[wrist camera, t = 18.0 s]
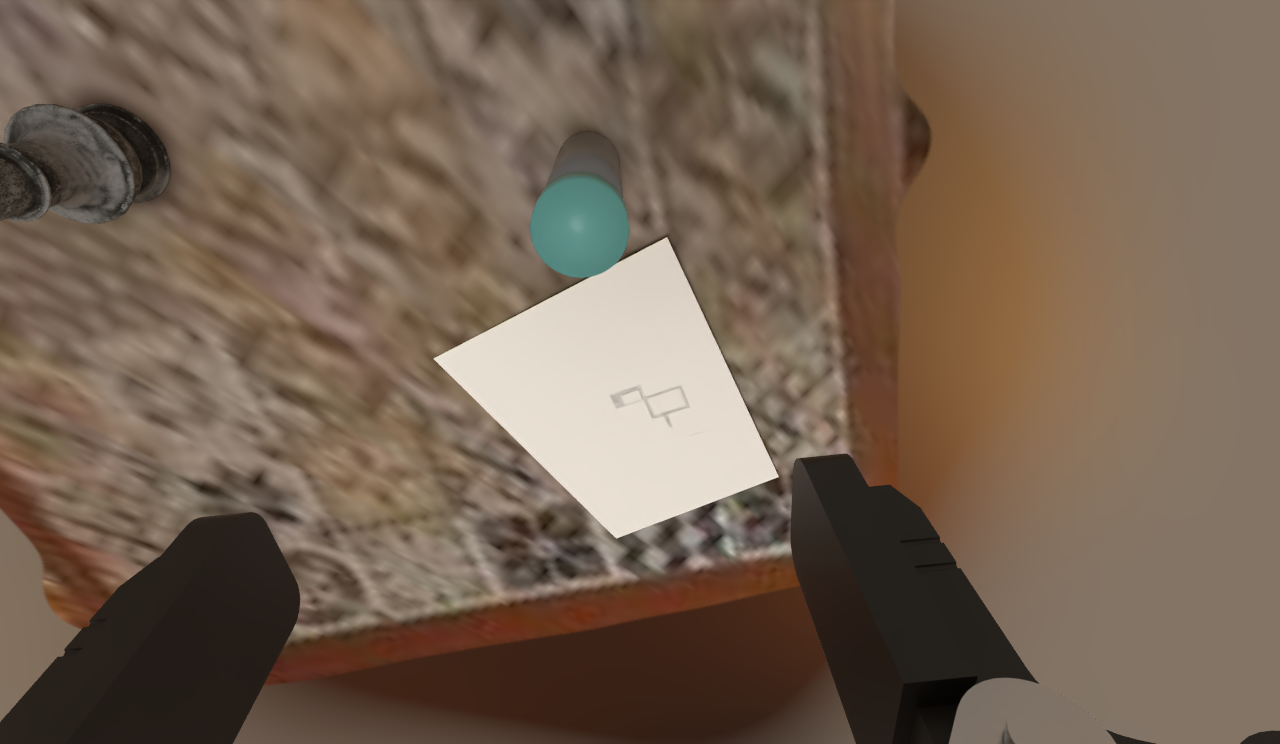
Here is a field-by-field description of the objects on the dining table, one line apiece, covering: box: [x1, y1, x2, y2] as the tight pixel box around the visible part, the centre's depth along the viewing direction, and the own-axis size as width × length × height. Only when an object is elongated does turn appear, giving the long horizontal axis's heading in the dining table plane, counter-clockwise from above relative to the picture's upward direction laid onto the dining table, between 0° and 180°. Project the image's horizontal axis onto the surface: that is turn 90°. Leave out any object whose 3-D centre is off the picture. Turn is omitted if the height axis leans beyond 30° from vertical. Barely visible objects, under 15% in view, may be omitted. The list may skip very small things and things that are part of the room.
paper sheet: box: [434, 237, 779, 538], centre depth 45 cm, size 24×29×1 cm
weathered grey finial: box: [0, 104, 170, 224], centre depth 29 cm, size 6×6×12 cm
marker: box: [530, 131, 629, 278], centre depth 30 cm, size 4×4×14 cm
